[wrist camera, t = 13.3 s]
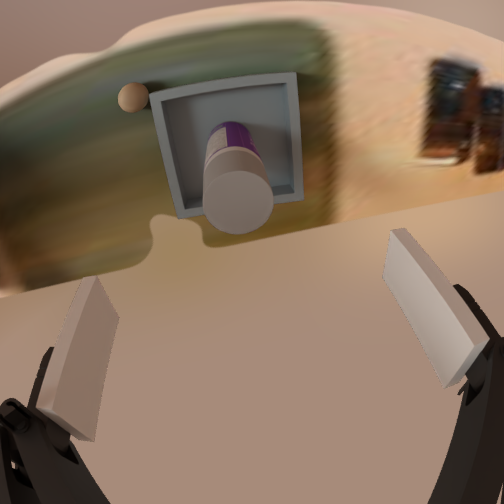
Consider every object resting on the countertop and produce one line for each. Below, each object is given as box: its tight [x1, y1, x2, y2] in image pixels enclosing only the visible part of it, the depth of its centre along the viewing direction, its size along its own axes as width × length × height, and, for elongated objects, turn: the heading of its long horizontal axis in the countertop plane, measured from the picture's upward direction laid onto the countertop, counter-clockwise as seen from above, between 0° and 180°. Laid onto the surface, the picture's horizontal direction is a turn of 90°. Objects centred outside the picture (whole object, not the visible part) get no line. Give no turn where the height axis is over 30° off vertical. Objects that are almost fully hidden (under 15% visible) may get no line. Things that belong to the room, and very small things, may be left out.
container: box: [203, 121, 274, 234], centre depth 25 cm, size 5×5×15 cm
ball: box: [118, 83, 149, 113], centre depth 26 cm, size 3×3×3 cm
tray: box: [149, 71, 304, 219], centre depth 30 cm, size 14×14×3 cm
